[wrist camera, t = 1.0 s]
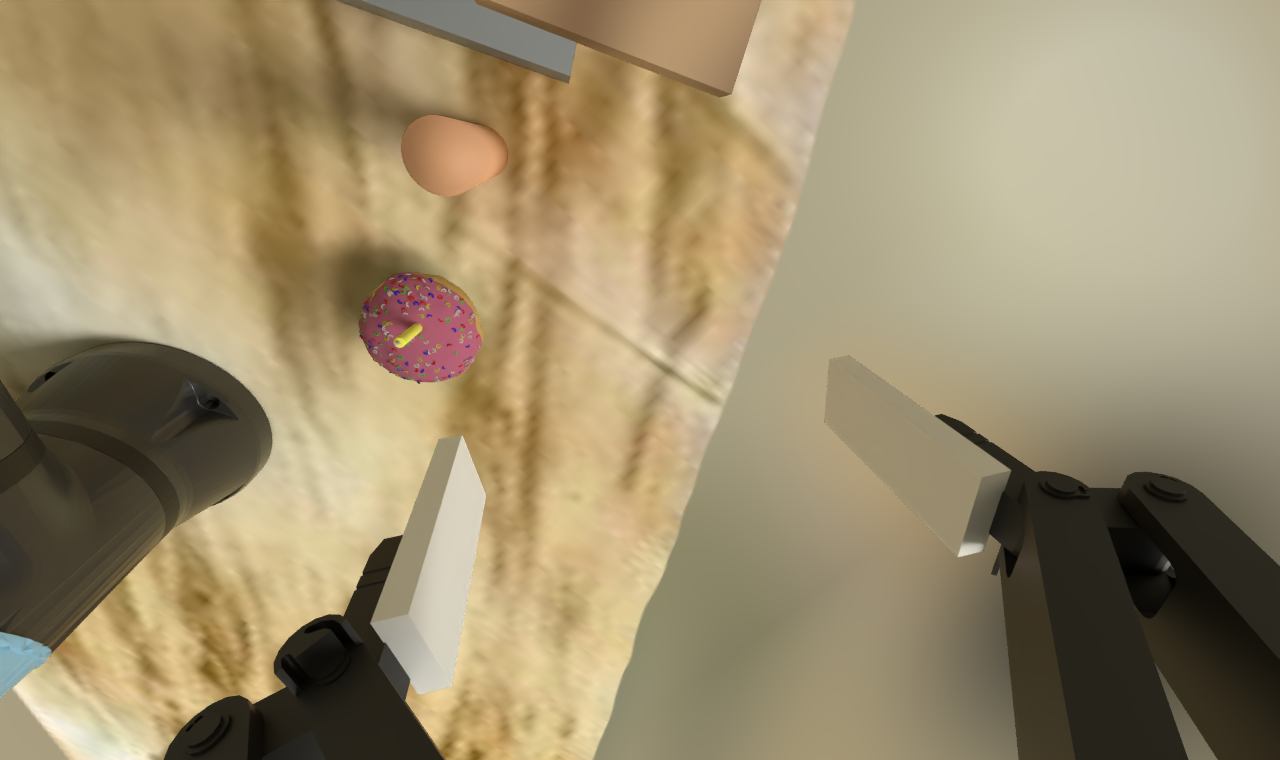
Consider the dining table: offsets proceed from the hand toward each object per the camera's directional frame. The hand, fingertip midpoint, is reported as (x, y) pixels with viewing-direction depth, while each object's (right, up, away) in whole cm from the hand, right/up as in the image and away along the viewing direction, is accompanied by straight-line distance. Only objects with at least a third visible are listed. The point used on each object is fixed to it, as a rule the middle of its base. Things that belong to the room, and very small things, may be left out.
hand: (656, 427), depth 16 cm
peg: (-12, +18, +17) cm, 28 cm away
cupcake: (-18, +8, +22) cm, 29 cm away
